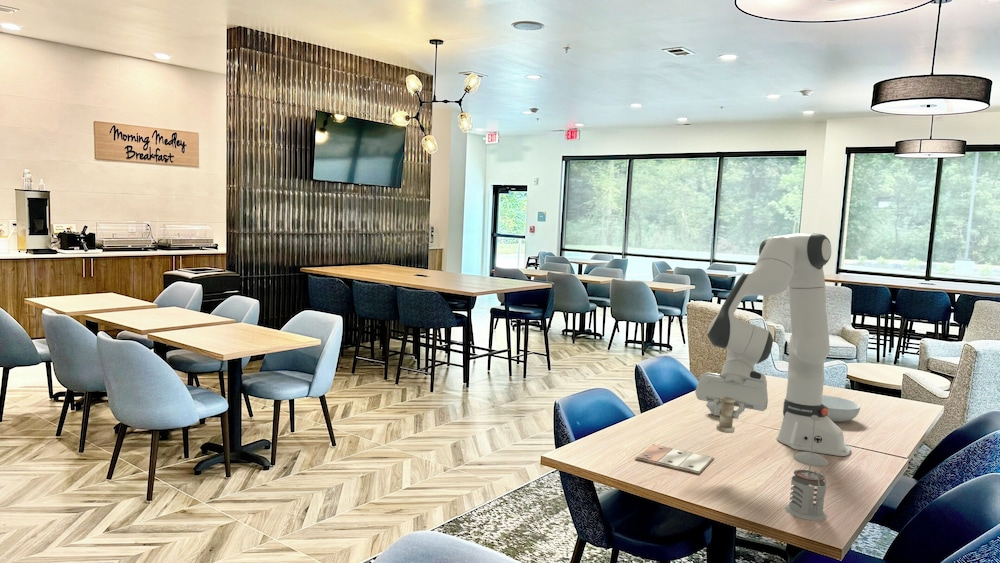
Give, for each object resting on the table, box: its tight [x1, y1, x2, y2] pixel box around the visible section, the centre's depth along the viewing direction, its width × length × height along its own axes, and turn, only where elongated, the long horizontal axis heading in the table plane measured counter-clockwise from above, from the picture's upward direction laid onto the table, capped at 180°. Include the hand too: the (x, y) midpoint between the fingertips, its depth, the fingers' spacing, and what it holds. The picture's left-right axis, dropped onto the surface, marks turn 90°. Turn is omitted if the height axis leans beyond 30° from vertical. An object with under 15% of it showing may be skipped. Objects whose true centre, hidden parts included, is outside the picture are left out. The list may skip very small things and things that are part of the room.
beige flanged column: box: [715, 397, 736, 434], centre depth 199 cm, size 5×5×9 cm
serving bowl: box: [822, 394, 861, 423], centre depth 266 cm, size 21×21×7 cm
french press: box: [784, 415, 829, 522], centre depth 171 cm, size 10×12×25 cm
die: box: [705, 401, 721, 417], centre depth 262 cm, size 8×9×10 cm
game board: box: [634, 444, 715, 476], centre depth 207 cm, size 19×17×1 cm
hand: (726, 416), depth 198 cm, fingers closed on beige flanged column, 4 cm apart
